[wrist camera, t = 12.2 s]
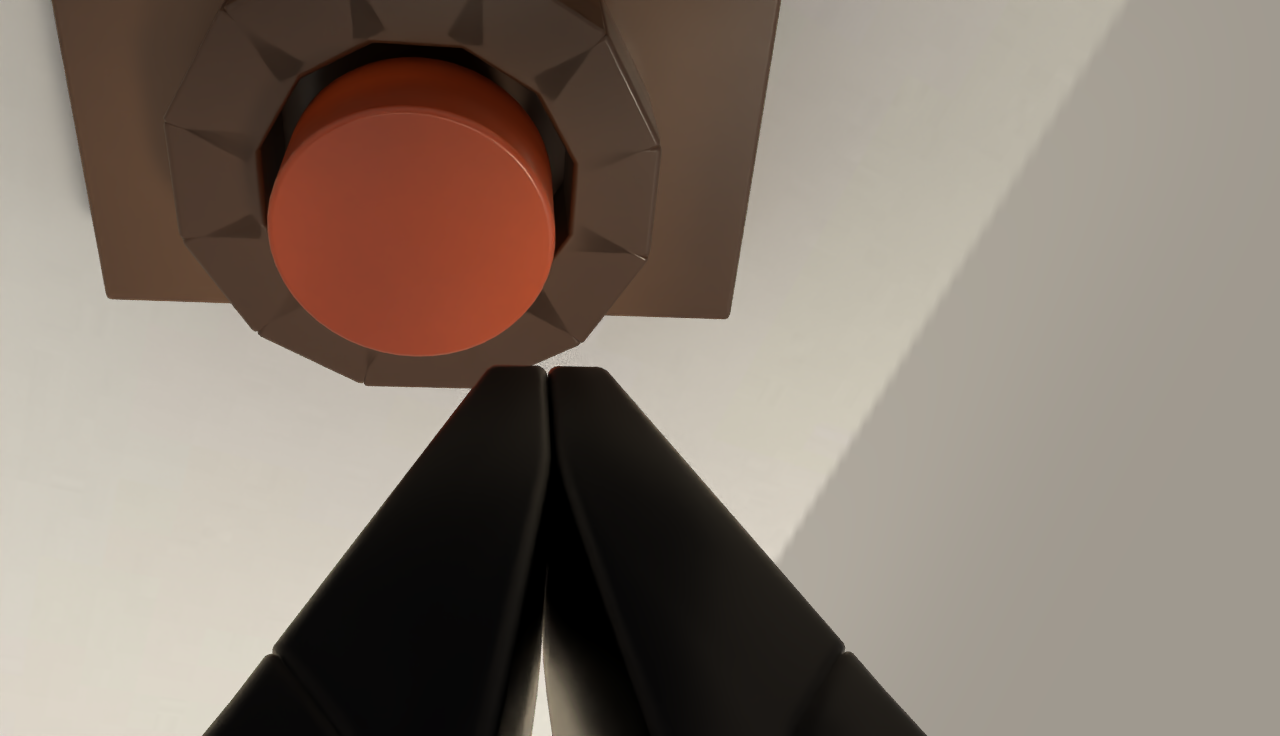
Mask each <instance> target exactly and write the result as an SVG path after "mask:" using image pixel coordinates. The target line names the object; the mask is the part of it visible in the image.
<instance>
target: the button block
mask: <svg viewBox="0 0 1280 736" xmlns="http://www.w3.org/2000/svg"><path fill="white" fill-rule="evenodd" d="M52 5H53V11H54V16H55V22H56V27H57V32H58V38H59V43H60V49H61V54H62V59H63V65H64V70H65V76H66V81H67V86H68V92H69V97H70V102H71V108H72V113H73V119H74V124H75V129H76V135H77V140H78V146H79V151H80V156H81V162H82V167H83V172H84V178H85V183H86V189H87V194H88V199H89V205H90V210H91V216H92V221H93V226H94V232H95V237H96V242H97V248H98V253H99V259H100V264H101V269H102V275H103V280H104V286H105V291H106V295H107V297H108V298H110V299H119V300H149V301H180V302H211V303H231V304H232V305H233V306H234V308H235V309H236V310H237V311H238V313H239V314H240V315H241V316H242V318H243V319H244V320H245V321H246V323H247V324H248V325H249V326H250V328H251V329H252V330H254V331H258V334H259V335H260V336H261V337H263V338H265V339H267V340H269V341H272V342H274V343H276V344H278V345H280V346H282V347H284V348H286V349H288V350H291V351H293V352H295V353H297V354H299V355H301V356H303V357H305V358H307V359H310V360H312V361H314V362H316V363H318V364H320V365H322V366H324V367H326V368H328V369H331V370H333V371H335V372H337V373H339V374H341V375H343V376H345V377H347V378H350V379H352V380H354V381H356V382H358V383H363V382H364V384H365V385H366V386H390V387H431V388H473V387H474V385H475V384H476V383H477V381H478V380H479V379H480V377H481V376H482V375H483V374H484V372H485V371H486V370H487V369H488V368H489V367H491V366H493V365H529V366H532V365H534V364H537V363H539V362H541V361H543V360H546V359H548V358H550V357H553V356H555V355H557V354H560V353H562V352H564V351H566V350H569V349H571V348H573V347H576V346H578V345H579V344H580V342H581V343H582V342H584V341H585V340H586V338H587V337H588V336H589V334H590V333H591V332H592V331H593V329H594V328H595V327H596V326H597V324H598V323H599V322H600V321H601V319H602V318H603V317H604V315H611V316H642V317H673V318H703V319H727V318H728V317H729V315H730V312H731V306H732V300H733V293H734V287H735V281H736V275H737V269H738V263H739V257H740V250H741V244H742V238H743V232H744V226H745V220H746V214H747V207H748V201H749V195H750V189H751V183H752V177H753V171H754V164H755V158H756V152H757V146H758V140H759V134H760V128H761V122H762V115H763V109H764V103H765V97H766V91H767V85H768V79H769V72H770V66H771V60H772V54H773V48H774V42H775V36H776V29H777V23H778V17H779V11H780V5H781V0H52ZM399 57H422V58H430V59H438V60H442V61H446V62H450V63H454V64H458V65H460V66H463V67H465V68H468V69H471V70H473V71H475V72H477V73H479V74H481V75H483V76H485V77H486V78H488V79H490V80H491V81H493V82H494V83H496V84H497V85H499V86H500V87H501V88H503V89H504V90H505V91H506V92H507V93H509V94H510V95H511V96H512V97H513V98H514V99H515V100H516V101H517V102H518V103H519V104H520V105H521V106H522V108H523V109H524V110H525V111H526V112H527V114H528V115H529V116H530V118H531V119H532V121H533V123H534V124H535V126H536V127H537V129H538V131H539V133H540V135H541V137H542V140H543V142H544V144H545V147H546V151H547V154H548V157H549V162H550V168H551V174H552V188H553V203H554V217H555V250H554V258H553V262H552V266H551V269H550V272H549V276H548V278H547V280H546V282H545V284H544V286H543V289H542V290H541V292H540V293H539V295H538V297H537V298H536V300H535V301H534V303H533V304H532V305H531V306H530V307H529V309H528V310H527V311H526V312H525V313H524V314H523V315H522V316H521V317H520V318H519V319H518V320H517V321H516V322H515V323H514V324H512V325H511V326H510V327H509V328H507V329H506V330H505V331H503V332H502V333H500V334H499V335H497V336H496V337H494V338H492V339H490V340H488V341H486V342H484V343H482V344H480V345H477V346H474V347H472V348H469V349H466V350H462V351H458V352H454V353H450V354H444V355H437V356H416V357H415V356H402V355H394V354H389V353H384V352H379V351H376V350H372V349H369V348H366V347H363V346H360V345H358V344H356V343H353V342H351V341H349V340H346V339H345V338H343V337H341V336H339V335H337V334H336V333H334V332H332V331H331V330H329V329H328V328H326V327H325V326H324V325H322V324H321V323H319V322H318V321H317V320H316V319H315V318H313V317H312V316H311V315H310V314H309V313H308V312H307V311H306V310H305V309H304V308H303V307H302V306H301V305H300V304H299V302H298V301H297V300H296V299H295V298H294V297H293V295H292V294H291V292H290V291H289V289H288V288H287V286H286V284H285V283H284V281H283V280H282V278H281V275H280V273H279V271H278V269H277V267H276V265H275V262H274V259H273V256H272V253H271V250H270V245H269V239H268V233H267V213H268V205H269V198H270V195H271V192H272V189H273V185H274V182H275V179H276V177H277V174H278V171H279V169H280V166H281V163H282V160H283V158H284V155H285V152H286V150H287V147H288V144H289V142H290V139H291V136H292V133H293V131H294V129H295V127H296V125H297V122H298V120H299V118H300V116H301V115H302V113H303V112H304V110H305V109H306V107H307V106H308V105H309V103H310V102H311V101H312V100H313V99H314V98H315V97H316V95H317V94H318V93H319V92H320V91H321V90H322V89H324V88H325V87H326V86H327V85H329V84H330V83H331V82H332V81H334V80H335V79H337V78H338V77H340V76H342V75H344V74H345V73H347V72H349V71H351V70H353V69H356V68H358V67H360V66H363V65H365V64H369V63H372V62H376V61H380V60H384V59H392V58H399Z"/></svg>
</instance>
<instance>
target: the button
mask: <svg viewBox="0 0 1280 736" xmlns="http://www.w3.org/2000/svg"><path fill="white" fill-rule="evenodd" d="M267 233H268V239H269V245H270V250H271V253H272V256H273V259H274V262H275V265H276V267H277V269H278V271H279V273H280V275H281V278H282V280H283V281H284V283H285V284H286V286H287V288H288V289H289V291H290V292H291V294H292V295H293V297H294V298H295V299H296V300H297V301H298V302H299V304H300V305H301V306H302V307H303V308H304V309H305V310H306V311H307V312H308V313H309V314H310V315H311V316H312V317H313V318H315V319H316V320H317V321H318V322H319V323H321V324H322V325H324V326H325V327H326V328H328V329H329V330H331V331H332V332H334V333H336V334H337V335H339V336H341V337H343V338H345V339H346V340H349V341H351V342H353V343H356V344H358V345H360V346H363V347H366V348H369V349H372V350H376V351H379V352H384V353H389V354H394V355H402V356H415V357H416V356H437V355H444V354H450V353H454V352H458V351H462V350H466V349H469V348H472V347H474V346H477V345H480V344H482V343H484V342H486V341H488V340H490V339H492V338H494V337H496V336H497V335H499V334H500V333H502V332H503V331H505V330H506V329H507V328H509V327H510V326H511V325H512V324H514V323H515V322H516V321H517V320H518V319H519V318H520V317H521V316H522V315H523V314H524V313H525V312H526V311H527V310H528V309H529V307H530V306H531V305H532V304H533V303H534V301H535V300H536V298H537V297H538V295H539V293H540V292H541V290H542V289H543V286H544V284H545V282H546V280H547V278H548V276H549V272H550V269H551V266H552V262H553V258H554V250H555V217H554V203H553V188H552V174H551V168H550V162H549V157H548V154H547V151H546V147H545V144H544V142H543V140H542V137H541V135H540V133H539V131H538V129H537V127H536V126H535V124H534V123H533V121H532V119H531V118H530V116H529V115H528V114H527V112H526V111H525V110H524V109H523V108H522V106H521V105H520V104H519V103H518V102H517V101H516V100H515V99H514V98H513V97H512V96H511V95H510V94H509V93H507V92H506V91H505V90H504V89H503V88H501V87H500V86H499V85H497V84H496V83H494V82H493V81H491V80H490V79H488V78H486V77H485V76H483V75H481V74H479V73H477V72H475V71H473V70H471V69H468V68H465V67H463V66H460V65H458V64H454V63H450V62H446V61H442V60H438V59H430V58H422V57H399V58H392V59H384V60H380V61H376V62H372V63H369V64H365V65H363V66H360V67H358V68H356V69H353V70H351V71H349V72H347V73H345V74H344V75H342V76H340V77H338V78H337V79H335V80H334V81H332V82H331V83H330V84H329V85H327V86H326V87H325V88H324V89H322V90H321V91H320V92H319V93H318V94H317V95H316V97H315V98H314V99H313V100H312V101H311V102H310V103H309V105H308V106H307V107H306V109H305V110H304V112H303V113H302V115H301V116H300V118H299V120H298V122H297V125H296V127H295V129H294V131H293V133H292V136H291V139H290V142H289V144H288V147H287V150H286V152H285V155H284V158H283V160H282V163H281V166H280V169H279V171H278V174H277V177H276V179H275V182H274V185H273V189H272V192H271V195H270V198H269V205H268V213H267Z"/></svg>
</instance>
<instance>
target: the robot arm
mask: <svg viewBox="0 0 1280 736" xmlns="http://www.w3.org/2000/svg"><path fill="white" fill-rule="evenodd" d="M542 641H543V664H544V674H545V683H546V693H547V700H548V707H549V715H550V722H551V729H552V736H927V735H926V734H925V733H924V732H923V731H922V730H921V729H920V728H919V727H918V726H917V724H916V723H915V722H914V721H913V720H912V719H911V718H910V717H909V716H908V715H907V713H906V712H905V711H904V710H903V709H902V708H901V707H900V706H899V705H898V704H897V703H896V702H895V701H894V699H893V698H892V697H891V696H890V695H889V694H888V693H887V692H886V691H885V690H884V688H883V687H882V686H881V685H880V684H879V683H878V681H877V680H876V679H875V678H874V677H873V676H872V675H871V673H870V672H869V671H868V670H867V669H866V668H865V667H864V665H863V664H862V663H861V662H860V661H859V660H858V658H857V657H856V656H855V655H854V654H853V653H851V652H844V651H845V646H844V643H843V642H842V641H841V640H840V638H839V637H838V636H837V635H836V634H835V633H834V632H833V630H832V629H831V628H830V627H829V626H828V625H827V624H826V622H825V621H824V620H823V619H822V618H821V617H820V616H819V614H818V613H817V612H816V611H815V610H814V609H813V608H812V606H811V605H810V604H809V603H808V602H807V601H806V599H805V598H804V597H803V596H802V595H801V594H800V592H799V591H798V590H797V589H796V588H795V587H794V585H793V584H792V583H791V582H790V581H789V580H788V579H787V577H786V576H785V575H784V574H783V573H782V572H781V571H780V569H779V568H778V567H777V566H776V565H775V564H774V562H773V561H772V560H771V559H770V558H769V557H768V556H767V554H766V553H765V552H764V551H763V550H762V549H761V547H760V546H759V545H758V544H757V543H756V542H755V541H754V539H753V538H752V537H751V536H750V535H749V534H748V532H747V531H746V530H745V529H744V528H743V527H742V526H741V524H740V523H739V522H738V521H737V520H736V519H735V518H734V516H733V515H732V514H731V513H730V512H729V511H728V509H727V508H726V507H725V506H724V505H723V504H722V503H721V501H720V500H719V499H718V498H717V497H716V496H715V494H714V493H713V492H712V491H711V490H710V489H709V488H708V486H707V485H706V484H705V483H704V482H703V481H702V480H701V478H700V477H699V476H698V475H697V474H696V473H695V471H694V470H693V469H692V468H691V467H690V466H689V465H688V463H687V462H686V461H685V460H684V459H683V458H682V456H681V455H680V454H679V453H678V452H677V451H676V450H675V448H674V447H673V446H672V445H671V444H670V443H669V441H668V440H667V439H666V438H665V437H664V436H663V435H662V433H661V432H660V431H659V430H658V429H657V428H656V427H655V425H654V424H653V423H652V422H651V421H650V420H649V418H648V417H647V416H646V415H645V414H644V413H643V412H642V410H641V409H640V408H639V407H638V406H637V405H636V403H635V402H634V401H633V400H632V399H631V398H630V397H629V395H628V394H627V393H626V392H625V391H624V390H623V389H622V387H621V386H620V385H619V384H618V383H617V382H616V380H615V379H614V378H613V377H612V376H611V375H610V374H609V372H607V371H606V370H605V369H603V368H600V367H570V366H557V367H554V368H552V369H551V370H550V371H549V373H548V377H547V373H546V371H545V370H544V369H543V368H542V367H540V366H529V365H493V366H491V367H489V368H488V369H487V370H486V371H485V372H484V374H483V375H482V376H481V377H480V379H479V380H478V381H477V383H476V384H475V385H474V387H473V388H472V389H471V390H470V392H469V393H468V394H467V396H466V397H465V398H464V400H463V401H462V402H461V403H460V405H459V406H458V407H457V409H456V410H455V411H454V413H453V414H452V415H451V416H450V418H449V419H448V420H447V422H446V423H445V424H444V426H443V427H442V428H441V429H440V431H439V432H438V433H437V435H436V436H435V437H434V439H433V440H432V441H431V442H430V444H429V445H428V446H427V448H426V449H425V450H424V452H423V453H422V454H421V455H420V457H419V458H418V459H417V461H416V462H415V463H414V465H413V466H412V467H411V468H410V470H409V471H408V472H407V474H406V475H405V476H404V477H403V479H402V480H401V481H400V483H399V484H398V485H397V487H396V488H395V489H394V490H393V492H392V493H391V494H390V496H389V497H388V498H387V500H386V501H385V502H384V503H383V505H382V506H381V507H380V509H379V510H378V511H377V513H376V514H375V515H374V516H373V518H372V519H371V520H370V522H369V523H368V524H367V526H366V527H365V528H364V529H363V531H362V532H361V533H360V535H359V536H358V537H357V539H356V540H355V541H354V542H353V544H352V545H351V546H350V548H349V549H348V550H347V552H346V553H345V554H344V555H343V557H342V558H341V559H340V561H339V562H338V563H337V565H336V566H335V567H334V568H333V570H332V571H331V572H330V574H329V575H328V576H327V578H326V579H325V580H324V581H323V583H322V584H321V585H320V587H319V588H318V589H317V591H316V592H315V593H314V594H313V596H312V597H311V598H310V600H309V601H308V602H307V603H306V605H305V606H304V607H303V609H302V610H301V611H300V613H299V614H298V615H297V616H296V618H295V619H294V620H293V622H292V623H291V624H290V626H289V627H288V628H287V629H286V631H285V632H284V633H283V635H282V636H281V637H280V639H279V640H278V641H277V642H276V644H275V645H274V647H273V651H272V653H273V654H269V655H267V656H265V657H264V658H263V660H262V661H261V662H260V664H259V665H258V666H257V667H256V669H255V670H254V671H253V673H252V674H251V675H250V677H249V678H248V679H247V681H246V682H245V683H244V685H243V686H242V687H241V688H240V690H239V691H238V692H237V694H236V695H235V696H234V698H233V699H232V700H231V701H230V703H229V704H228V705H227V706H226V707H225V709H224V710H223V711H222V712H221V713H220V715H219V716H218V717H217V718H216V720H215V721H214V722H213V723H212V724H211V726H210V727H209V728H208V729H207V730H206V732H205V733H204V734H203V735H202V736H532V729H533V722H534V714H535V706H536V699H537V691H538V681H539V671H540V661H541V645H542Z"/></svg>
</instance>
